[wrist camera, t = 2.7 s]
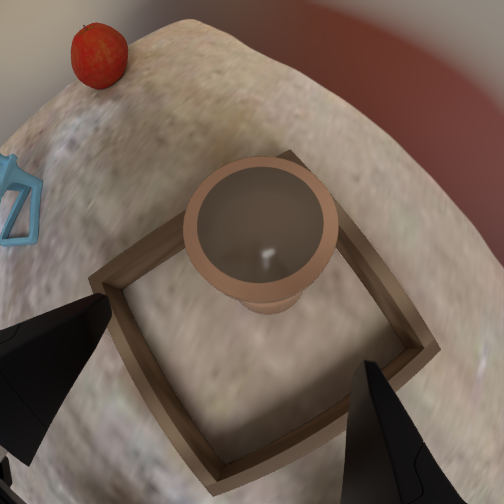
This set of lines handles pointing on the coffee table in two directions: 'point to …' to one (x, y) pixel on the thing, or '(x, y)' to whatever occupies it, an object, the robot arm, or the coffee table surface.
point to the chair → (19, 199)
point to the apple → (99, 55)
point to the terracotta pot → (261, 231)
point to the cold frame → (303, 438)
